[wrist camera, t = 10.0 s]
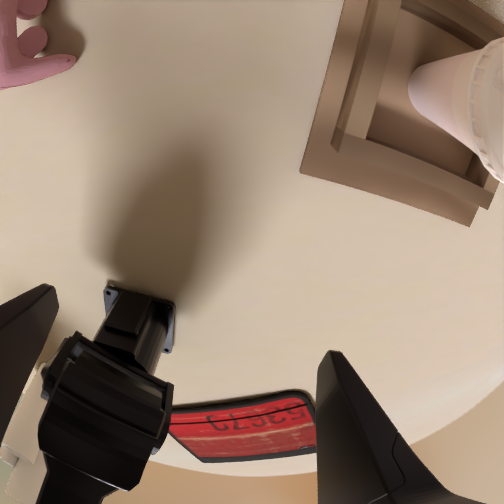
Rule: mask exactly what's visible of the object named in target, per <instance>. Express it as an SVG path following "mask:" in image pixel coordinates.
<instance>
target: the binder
mask: <svg viewBox="0 0 504 504" xmlns="http://www.w3.org/2000/svg"><path fill="white" fill-rule="evenodd" d="M168 433H169V434H170V435H171V436H172V437H173V438H174V439H175V440H176V441H177V442H178V443H180V444H181V445H182V446H183V447H184V448H185V449H186V450H188V451H189V452H190V453H191V454H192V455H194V456H195V457H196V458H197V459H199V460H200V461H201V462H203V463H222V462H242V461H253V460H264V459H274V458H283V457H291V456H298V455H305V454H312V453H317V448H316V425H315V408H314V406H313V405H312V403H311V402H310V399H309V398H308V396H307V395H306V394H305V393H303V392H300V391H285V392H281V393H278V394H273V395H269V396H265V397H261V398H256V399H253V400H245V401H239V402H235V403H228V404H221V405H216V406H208V407H200V408H190V409H172V413H171V423H170V427H169V431H168Z"/></svg>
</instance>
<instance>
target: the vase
mask: <svg viewBox="0 0 504 504" xmlns="http://www.w3.org/2000/svg"><path fill="white" fill-rule="evenodd" d="M45 365H46V362H44V363H42V364H41V366H40V368H39V369H38V371H37V373H36V375H35V376H34V378H33V380H32V382H31V383H30V385H29V387H28V389H27V391H26V393H25V394H24V397H23V398H22V400H21V402H20V404H19V406H18V408H17V410H16V412H15V414H14V416H13V418H12V420H11V422H10V424H9V426H8V428H7V430H6V433H5V435H4V438H3V441H2V443H1V444H2V446H1V448H0V459H2V460H3V461H5V462H6V463H8V464H9V465H11V466H13V467H14V468H13V471H12V473H11V476H10V478H9V481H8V484H7V486H6V489H5V492H4V493H5V494H7V495H8V496H10V497H12V498H13V499H15V500H17V501H18V502H20V503H22V504H35V503H36V500H37V497H38V494H39V492H40V489H41V486H42V483H43V480H44V477H45V475H46V472H47V469H46V465H45V461H44V457H43V452H42V451H41V450H40V449H39V445H38V437H37V433H38V424H39V421H40V418H41V416H42V414H43V411H44V409H45V406H46V404H47V401H45V400H44V399H42V398H41V397H40V395H41V392H42V389H43V388H42V384H43V380H42V377H41V374H40V373H41V370H42V368H43V367H44V366H45Z"/></svg>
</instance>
